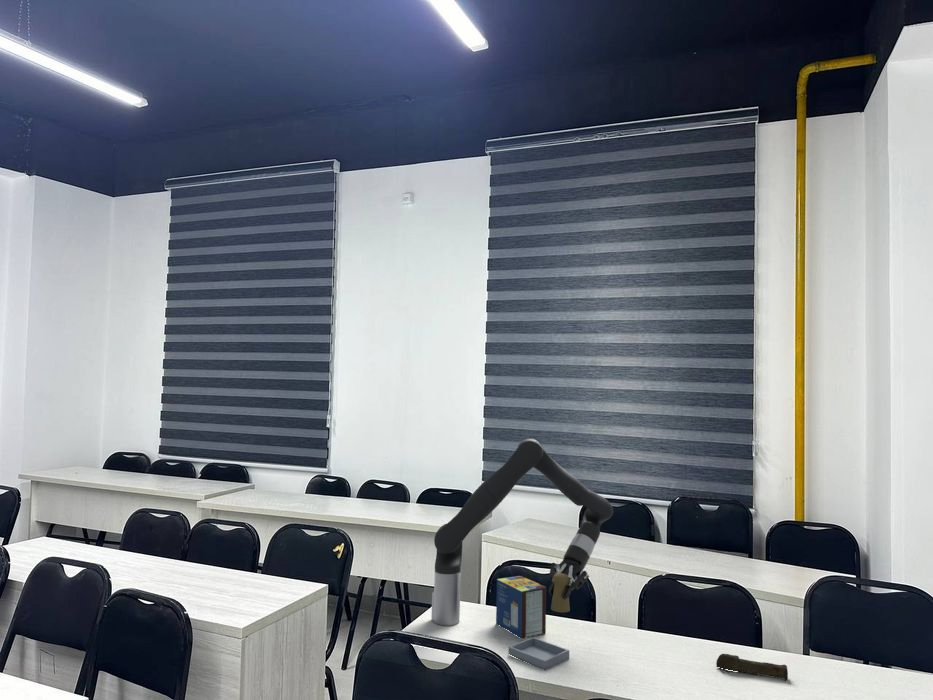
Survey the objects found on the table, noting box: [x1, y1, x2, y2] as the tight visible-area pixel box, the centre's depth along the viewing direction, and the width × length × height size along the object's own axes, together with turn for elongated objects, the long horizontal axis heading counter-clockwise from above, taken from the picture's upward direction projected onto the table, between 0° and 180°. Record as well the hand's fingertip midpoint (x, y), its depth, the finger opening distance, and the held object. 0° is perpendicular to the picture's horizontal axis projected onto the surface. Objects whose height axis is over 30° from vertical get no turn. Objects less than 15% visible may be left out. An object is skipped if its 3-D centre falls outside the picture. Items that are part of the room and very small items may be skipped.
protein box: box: [495, 575, 547, 639], centre depth 213 cm, size 10×15×16 cm
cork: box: [550, 573, 571, 613], centre depth 198 cm, size 6×6×11 cm
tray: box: [508, 636, 570, 671], centre depth 189 cm, size 14×12×3 cm
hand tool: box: [715, 653, 789, 681], centre depth 182 cm, size 19×4×5 cm, turn 68°
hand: (557, 595), depth 197 cm, fingers closed on cork, 4 cm apart
